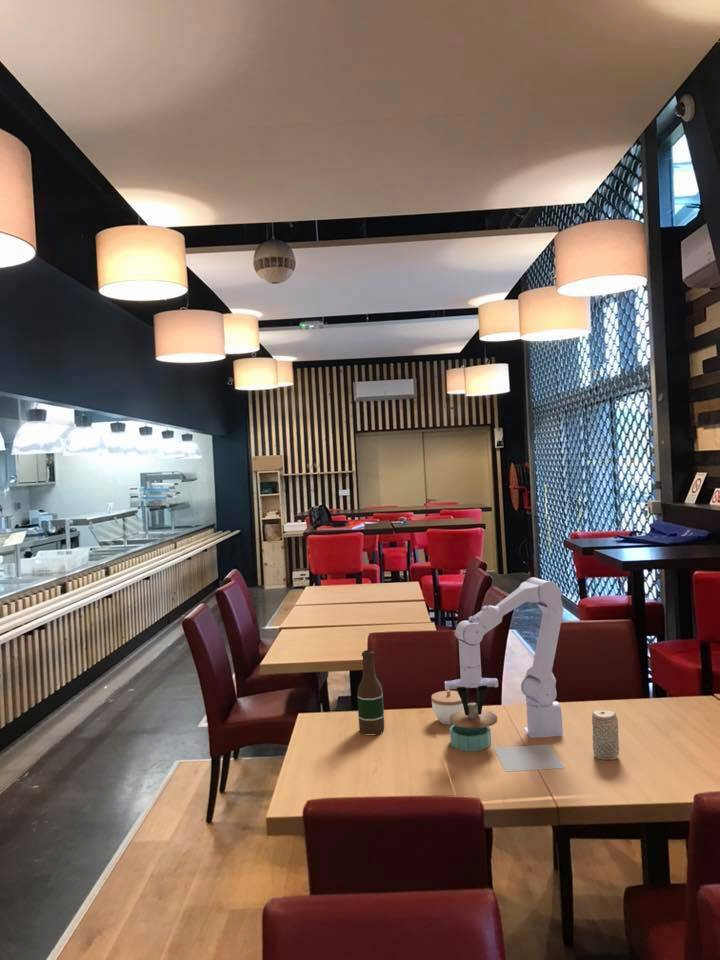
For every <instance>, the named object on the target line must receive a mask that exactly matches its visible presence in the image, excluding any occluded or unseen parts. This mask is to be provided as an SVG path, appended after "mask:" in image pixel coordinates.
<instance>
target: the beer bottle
mask: <svg viewBox="0 0 720 960" xmlns="http://www.w3.org/2000/svg"><path fill="white" fill-rule="evenodd" d="M374 654H375V653H374V651H373V650H369V649H366V650H363V651H362V652H361V657H362V678H361V680H360V682H359V684H358V687H357V693H356V694H357V695H356V696H357V708H358V709H357V712H358V727H359V728H358V729H359V732H362V733H364V734H377V735H379V734H378V733H380V734H382V733H381V732H383V733H384V730H385V709H384V693H383V692H384V691H383V687H382V684H381V681H379V678H377V674H376V669H375V661H374ZM362 733H361V734H362ZM364 734H363V735H364Z"/></svg>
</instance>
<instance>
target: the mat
mask: <svg viewBox="0 0 720 960" xmlns="http://www.w3.org/2000/svg"><path fill="white" fill-rule="evenodd" d="M493 750H494V752H495V753H496V756H497V759H498V760H499V762H500V763H501V766H502V768H503V769H504V772H506V773H509V772H511V773H512V772H523V771H525V772H526V771H541V770H542V771H543V770H555V769H557V770H559V769H565V768H566V767H565V766H564V764H563V762H561V760H560V759H559V758H558V755H556V752H554V750H553V749H552V748H551V746H550V745H549V744H537V745H536V744H534V745H521V746H503V747H494V748H493Z"/></svg>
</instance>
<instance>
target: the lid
mask: <svg viewBox="0 0 720 960" xmlns="http://www.w3.org/2000/svg"><path fill="white" fill-rule="evenodd" d="M467 706H468V715H465V712H464V710H462V711H458V712H455V713H453V714H451V715H450V722H451V723H452V724H453V725H455V726H458V727H463V728H484V727H489V728H490V727H492V726H494V725H495V724H497V722H498V715H497V714H495V713H493V712H492V711H488V710H483V709H482V712H481V714H480V715H479V712H478V704H477V702H467Z"/></svg>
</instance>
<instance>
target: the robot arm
mask: <svg viewBox="0 0 720 960" xmlns="http://www.w3.org/2000/svg"><path fill="white" fill-rule="evenodd" d="M562 593H563V591H562V589H561V588H560V587H559V585H558V584H557V583H556V582H554V581H551V580H550V581H549V580H544V579H542V578H538V577H536V576H535V577H534V576H533V577H530V578H528V579H527V580H525V581H523V582H521V583H520V585H519V587H517V588H516V589H515V590H513V591H512V592H511V593H510V594H509V595H507V596H506V597H505V598H504V599H502V600H501V601H500V602H498V603H496V605H491V604H489V605H484V606H482V607H481V610H480V611H478V612H477V613H476V614H474V615H473V616H472V615H471V616H469V617H468V620H461V621H460V622H459V623H458V624H457V626H456V628H455V630H454V631H453V632H454V636H455V637H456V639H457V641H458V653H459V655H458V656H459V671H460V673H459V674H460V678H458V679H454V680H453V679H452V680H445V681H444V689H445V691H447V690H450V691H451V690H455V691H457V692H458V694H459V696H460V698H461V701H462V704H463V707H464V712H465V715H468V706H467V704H468V692H467V689H473V688H474V689H475V690H476V701H477V702H476V703H477V704H478V712H479V715H480V714H481V712H482V710H483V705H484V703H485V699H486V697H487V695H488V693H489V689H488V688H492V687H493V688H498V687H499V680H498V678H496V677H492V678H491V677H482V665H481V664H482V663H481V647H480V646H481V645H480V643H481V642H482V640H483V638H484V635H486V634H487V633H488V632H489V631H491V630H492V629H494V628H495V627H497V626H498V625H499V624H501V623H502V622H503V617H504V616H505V615H507V614H508V613H510V612H512V611H513V610H515V609H517V608H518V607H519V606H521V605H523V604H525V603H535V604H536V605H537V606H538V608H539V609H540V610H541V612H542V615H541V620H540V625H539V631H538V636H537V641H536V646H535V652H534V655H533V656H534V657H533V661H532V666H531V667H529V668H528V669H527V670H526V673H525V676H524V677H523V679H522V681H521V684H520V690H521V693H522V694H523V695H524V696H525V700H526V704H525V705H526V719H527V720H526V724H527V726H525V727H523V730H525V732H526V733H527V735H528V737H529V738H531V739H534V738H549V737H563V736H564V732H563V731H564V730H563V729H564V728H563V714H562V708H561V707H562V706H561V705H560V702H559V701H557V700H556V699H557V696H558V695H557V689H556V687H557V686H556V684H557V679H556V677H555V675H554V673H553V667H554V662H555V661H554V660H555V657H556V656H555V655H556V651H557V645H558V641H559V635H560V632H561V631H560V630H561V625H562V620H563V615H564V606H563V600H562Z"/></svg>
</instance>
